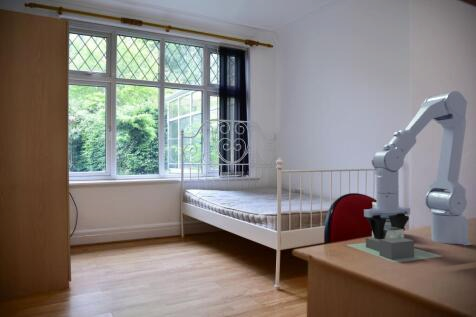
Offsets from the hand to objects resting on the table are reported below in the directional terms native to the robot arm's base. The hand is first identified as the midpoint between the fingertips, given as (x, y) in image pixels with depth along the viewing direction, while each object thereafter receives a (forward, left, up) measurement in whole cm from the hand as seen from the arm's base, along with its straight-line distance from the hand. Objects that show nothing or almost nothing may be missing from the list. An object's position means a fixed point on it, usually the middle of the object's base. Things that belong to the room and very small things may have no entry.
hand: (387, 241), depth 99 cm
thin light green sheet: (+4, +5, -2) cm, 6 cm away
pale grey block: (0, 0, -1) cm, 1 cm away
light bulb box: (-9, -11, -2) cm, 15 cm away
